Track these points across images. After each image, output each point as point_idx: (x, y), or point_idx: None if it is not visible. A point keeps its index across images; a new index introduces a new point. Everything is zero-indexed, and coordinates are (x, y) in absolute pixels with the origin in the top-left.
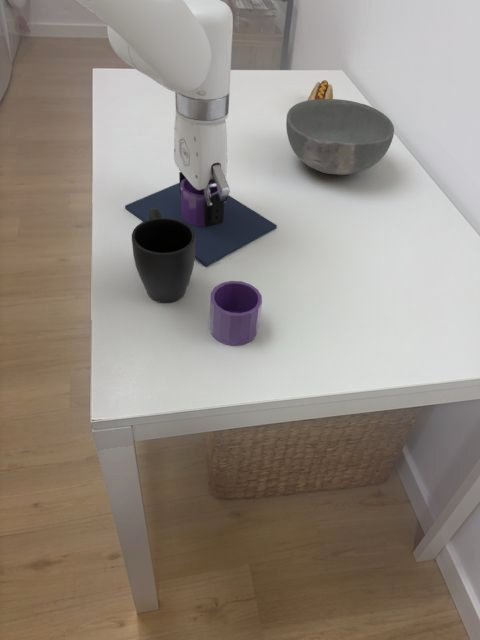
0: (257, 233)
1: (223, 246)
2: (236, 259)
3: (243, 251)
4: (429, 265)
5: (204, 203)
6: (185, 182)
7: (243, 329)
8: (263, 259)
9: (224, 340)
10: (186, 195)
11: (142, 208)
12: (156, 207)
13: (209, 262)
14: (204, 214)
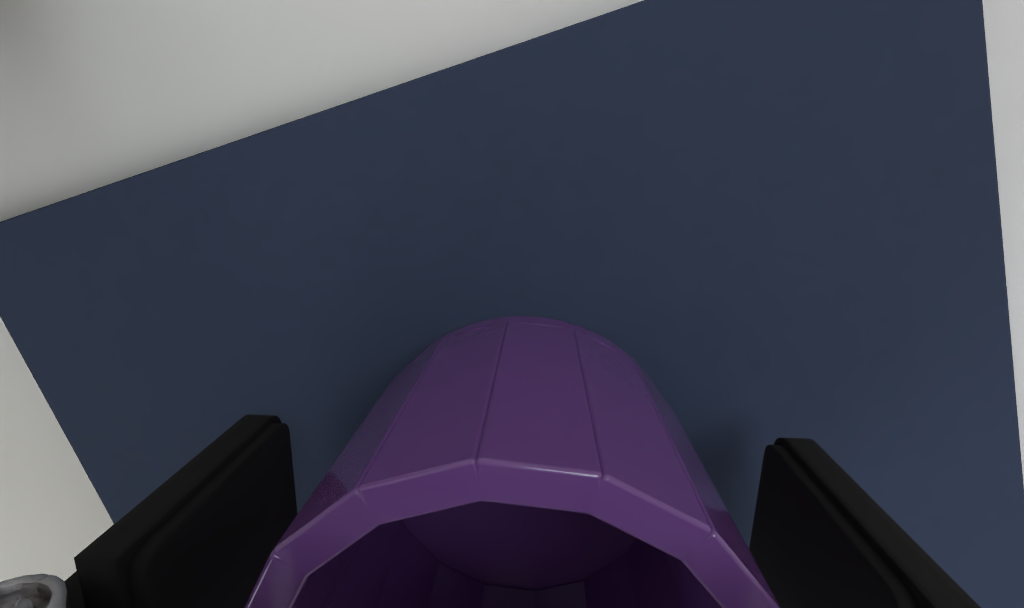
0: None
1: (122, 429)
2: (34, 442)
3: (103, 514)
4: None
5: (114, 563)
6: (697, 569)
7: None
8: (8, 574)
9: None
10: (421, 448)
11: (834, 49)
12: (782, 179)
13: None
14: (195, 470)
